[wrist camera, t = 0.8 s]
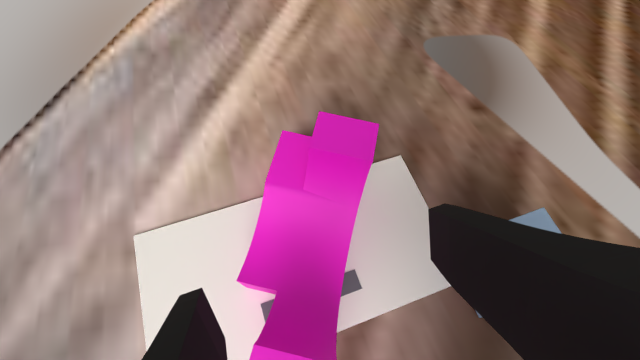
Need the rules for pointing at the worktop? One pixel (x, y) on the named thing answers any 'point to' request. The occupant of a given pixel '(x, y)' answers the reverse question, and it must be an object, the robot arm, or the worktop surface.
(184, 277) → the letter board
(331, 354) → the toy block
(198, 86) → the worktop surface
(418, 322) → the worktop surface
